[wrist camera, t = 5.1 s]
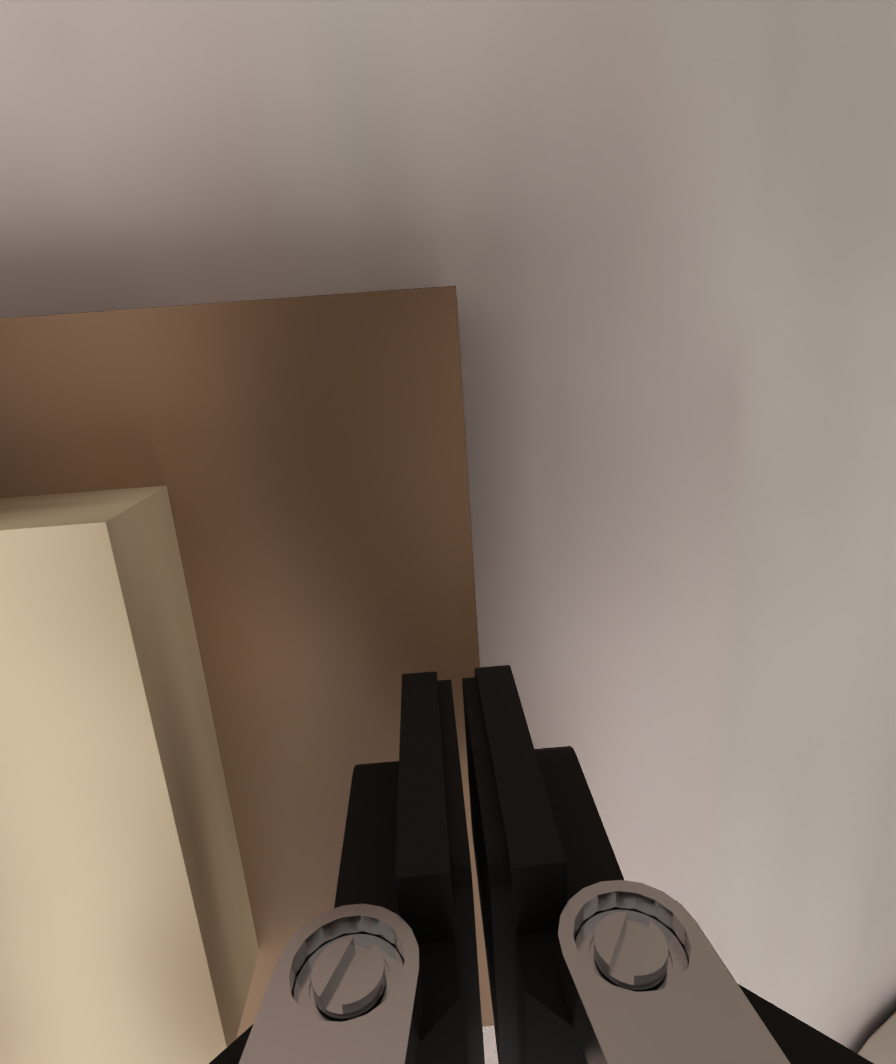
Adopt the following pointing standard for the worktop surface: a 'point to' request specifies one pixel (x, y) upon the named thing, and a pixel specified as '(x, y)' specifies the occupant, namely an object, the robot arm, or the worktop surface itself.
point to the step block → (279, 536)
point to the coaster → (111, 796)
